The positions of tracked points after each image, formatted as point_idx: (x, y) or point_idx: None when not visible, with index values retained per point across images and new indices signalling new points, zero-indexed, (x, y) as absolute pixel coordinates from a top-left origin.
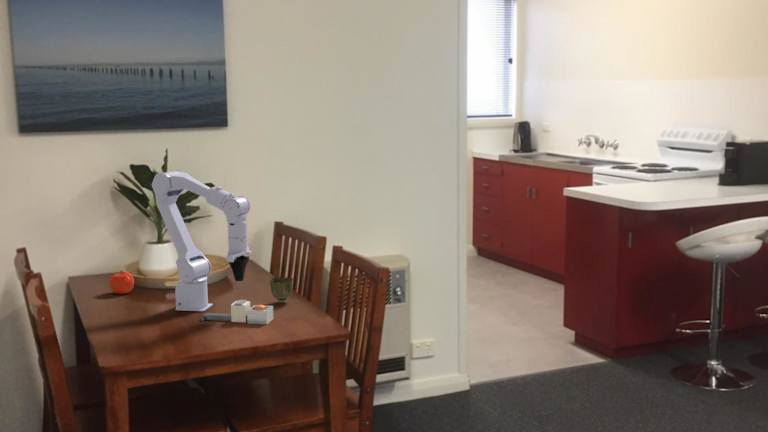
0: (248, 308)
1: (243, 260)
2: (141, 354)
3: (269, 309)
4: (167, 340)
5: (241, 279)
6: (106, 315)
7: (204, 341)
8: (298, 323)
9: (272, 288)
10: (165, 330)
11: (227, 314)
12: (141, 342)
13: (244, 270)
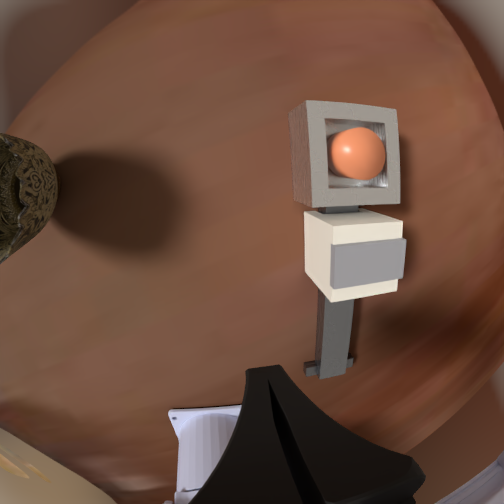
0: (349, 218)
1: (421, 477)
2: None
3: (359, 105)
4: (476, 329)
5: (284, 373)
6: None
7: (491, 250)
8: (323, 14)
9: (36, 224)
10: (420, 379)
11: (335, 302)
12: (474, 361)
13: (260, 418)
